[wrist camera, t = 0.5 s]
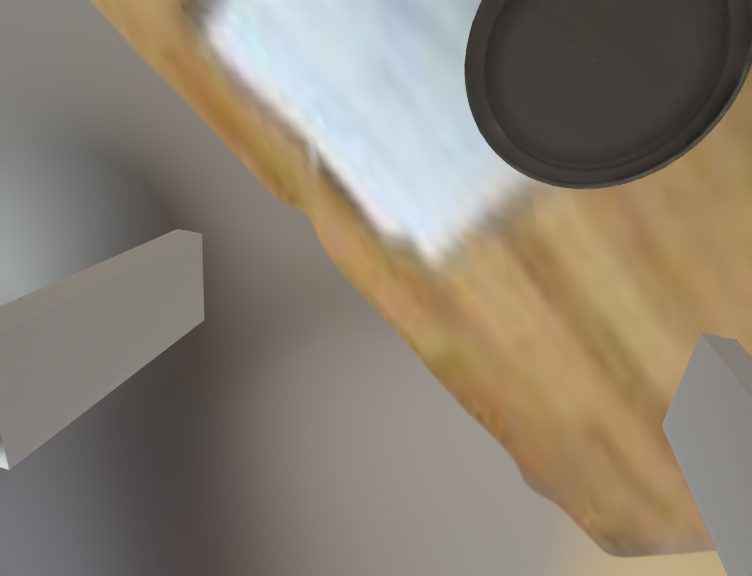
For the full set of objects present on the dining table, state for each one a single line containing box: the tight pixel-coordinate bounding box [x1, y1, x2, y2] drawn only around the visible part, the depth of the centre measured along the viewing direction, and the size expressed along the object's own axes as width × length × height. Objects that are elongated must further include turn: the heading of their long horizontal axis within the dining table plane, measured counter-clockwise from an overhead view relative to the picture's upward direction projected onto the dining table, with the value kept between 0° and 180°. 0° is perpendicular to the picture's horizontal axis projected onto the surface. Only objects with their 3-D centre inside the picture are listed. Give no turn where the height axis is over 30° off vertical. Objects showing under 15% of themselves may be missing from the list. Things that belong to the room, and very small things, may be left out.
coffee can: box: [465, 0, 752, 189], centre depth 25 cm, size 10×10×14 cm
